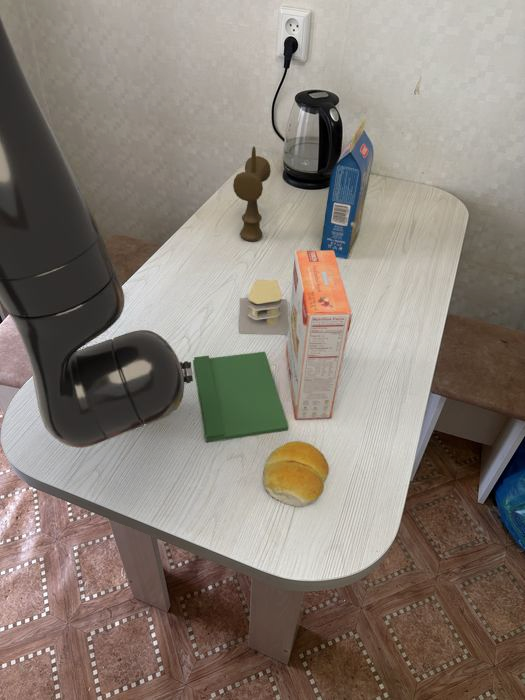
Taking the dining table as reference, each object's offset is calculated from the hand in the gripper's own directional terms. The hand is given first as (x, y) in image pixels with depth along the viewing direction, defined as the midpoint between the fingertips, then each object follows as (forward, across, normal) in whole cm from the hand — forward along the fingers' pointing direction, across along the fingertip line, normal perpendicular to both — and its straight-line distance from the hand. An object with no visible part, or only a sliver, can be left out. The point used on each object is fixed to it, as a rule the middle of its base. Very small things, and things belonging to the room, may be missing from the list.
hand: (140, 376), depth 71 cm
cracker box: (+5, -25, +5) cm, 26 cm away
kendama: (+37, -25, -27) cm, 52 cm away
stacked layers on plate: (+18, -22, -8) cm, 29 cm away
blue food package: (+34, -44, -23) cm, 60 cm away
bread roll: (-6, -19, +16) cm, 26 cm away
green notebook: (+5, -14, +5) cm, 16 cm away
